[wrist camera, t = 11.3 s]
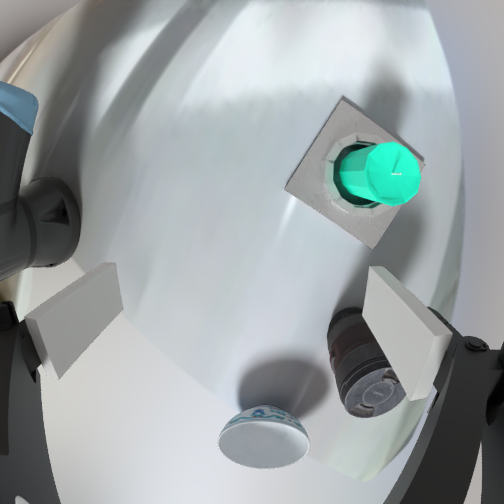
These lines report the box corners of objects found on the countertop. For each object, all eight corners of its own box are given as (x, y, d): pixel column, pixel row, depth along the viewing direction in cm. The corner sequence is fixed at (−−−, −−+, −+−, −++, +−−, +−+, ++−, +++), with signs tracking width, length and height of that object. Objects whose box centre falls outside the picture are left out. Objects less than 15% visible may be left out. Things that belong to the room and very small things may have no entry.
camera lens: (359, 355, 40) (384, 423, 26) (314, 341, 40) (327, 414, 26) (385, 312, 38) (426, 373, 24) (339, 295, 38) (369, 358, 23)
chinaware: (257, 446, 48) (254, 475, 41) (208, 407, 46) (198, 437, 38) (322, 420, 45) (326, 451, 37) (276, 375, 42) (275, 408, 35)
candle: (330, 162, 33) (356, 156, 21) (370, 142, 31) (411, 129, 20) (352, 205, 34) (387, 220, 22) (390, 184, 32) (438, 190, 21)
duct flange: (284, 189, 35) (284, 190, 32) (340, 101, 31) (345, 95, 28) (371, 248, 36) (378, 254, 33) (422, 164, 32) (433, 164, 29)
